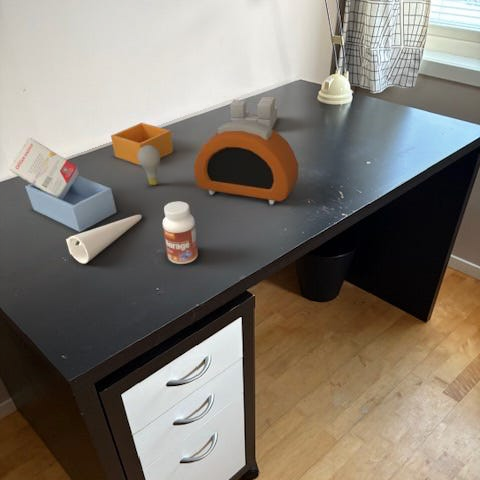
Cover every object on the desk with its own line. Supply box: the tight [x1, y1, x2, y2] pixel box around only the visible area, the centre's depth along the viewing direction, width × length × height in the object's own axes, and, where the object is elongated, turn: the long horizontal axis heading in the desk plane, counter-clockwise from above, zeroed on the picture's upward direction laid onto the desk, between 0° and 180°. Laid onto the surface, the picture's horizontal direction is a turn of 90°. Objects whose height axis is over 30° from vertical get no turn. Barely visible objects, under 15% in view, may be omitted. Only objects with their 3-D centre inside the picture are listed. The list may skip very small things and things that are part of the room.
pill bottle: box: [162, 200, 199, 265], centre depth 93 cm, size 6×6×11 cm
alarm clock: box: [193, 120, 299, 205], centre depth 110 cm, size 23×9×17 cm, turn 68°
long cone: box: [65, 214, 143, 264], centre depth 100 cm, size 6×6×19 cm
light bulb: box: [137, 145, 161, 186], centre depth 117 cm, size 5×6×10 cm
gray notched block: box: [230, 96, 278, 130], centre depth 146 cm, size 12×12×8 cm
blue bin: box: [24, 175, 117, 233], centre depth 110 cm, size 18×11×6 cm, turn 52°
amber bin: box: [110, 122, 174, 166], centre depth 133 cm, size 12×12×6 cm
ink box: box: [9, 137, 80, 200], centre depth 108 cm, size 9×5×12 cm
